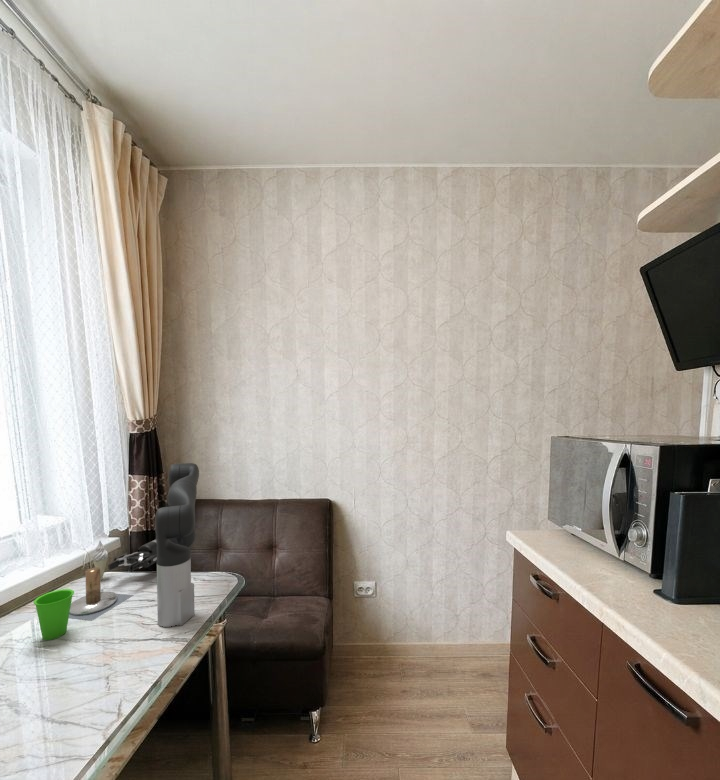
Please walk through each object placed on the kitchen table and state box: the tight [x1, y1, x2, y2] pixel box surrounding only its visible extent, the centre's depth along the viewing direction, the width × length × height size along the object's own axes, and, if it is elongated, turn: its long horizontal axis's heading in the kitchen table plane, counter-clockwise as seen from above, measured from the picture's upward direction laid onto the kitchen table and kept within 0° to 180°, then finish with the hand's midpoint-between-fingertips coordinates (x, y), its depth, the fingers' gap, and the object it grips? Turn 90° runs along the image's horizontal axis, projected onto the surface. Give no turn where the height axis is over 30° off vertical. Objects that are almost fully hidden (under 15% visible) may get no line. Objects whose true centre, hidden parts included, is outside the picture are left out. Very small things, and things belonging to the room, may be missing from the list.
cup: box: [33, 588, 75, 641], centre depth 112 cm, size 9×9×11 cm
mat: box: [68, 593, 134, 622], centre depth 128 cm, size 16×16×1 cm
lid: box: [69, 566, 118, 616], centre depth 129 cm, size 13×13×11 cm
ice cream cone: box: [91, 540, 109, 581], centre depth 147 cm, size 5×5×15 cm
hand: (119, 568), depth 138 cm, fingers open, 8 cm apart
